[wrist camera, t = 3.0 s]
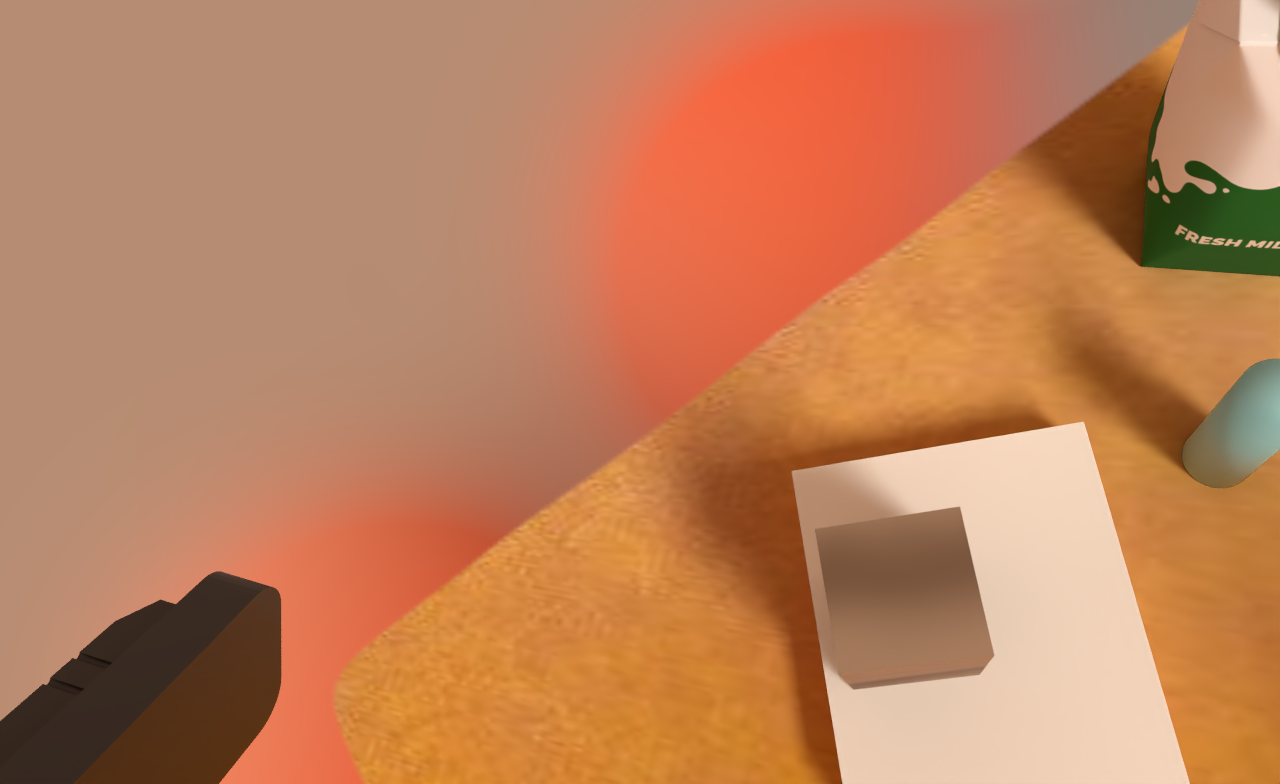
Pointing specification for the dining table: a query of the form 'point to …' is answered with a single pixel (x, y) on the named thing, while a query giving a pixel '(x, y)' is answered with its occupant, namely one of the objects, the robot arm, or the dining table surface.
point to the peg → (1238, 430)
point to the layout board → (1005, 624)
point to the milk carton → (1218, 146)
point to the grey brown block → (904, 599)
